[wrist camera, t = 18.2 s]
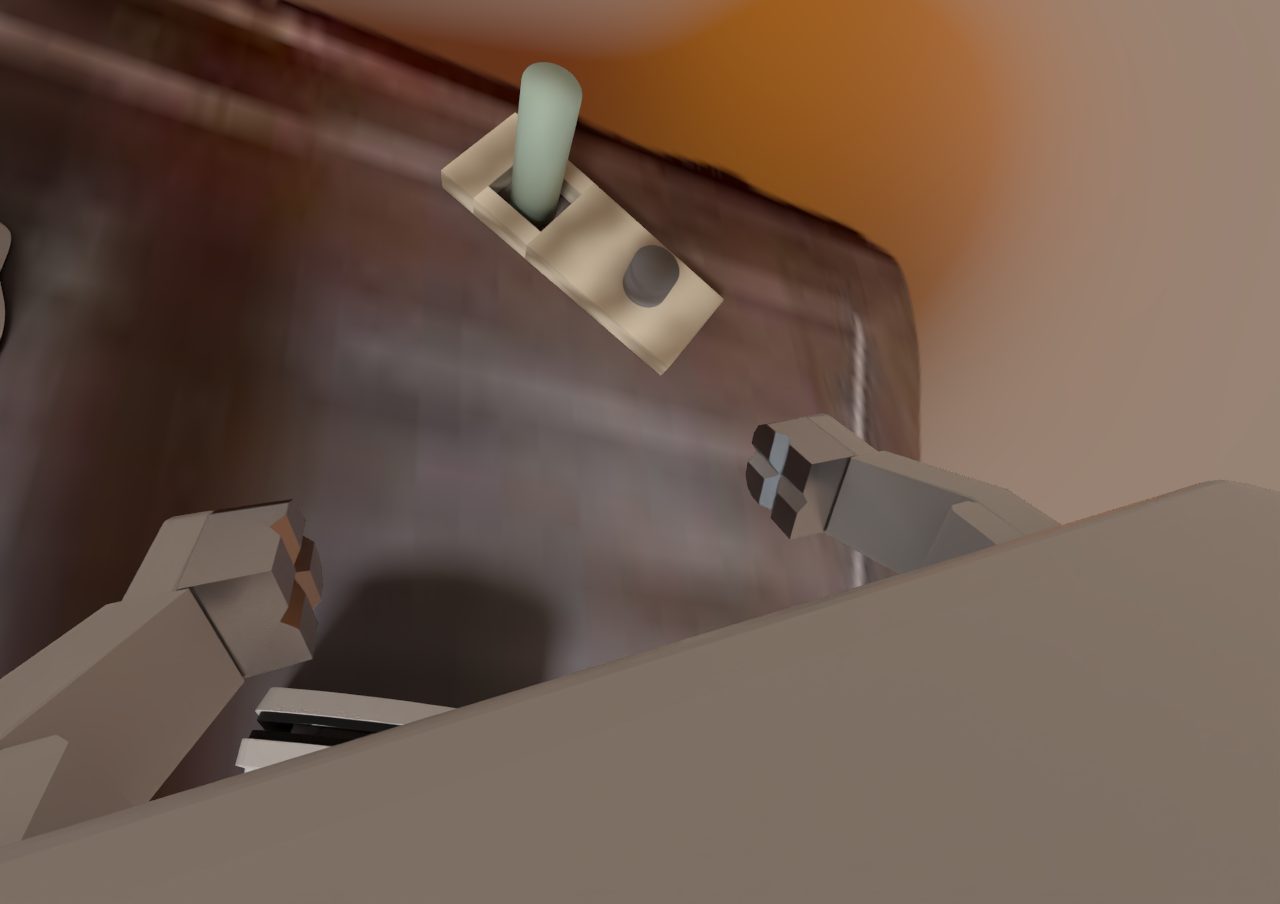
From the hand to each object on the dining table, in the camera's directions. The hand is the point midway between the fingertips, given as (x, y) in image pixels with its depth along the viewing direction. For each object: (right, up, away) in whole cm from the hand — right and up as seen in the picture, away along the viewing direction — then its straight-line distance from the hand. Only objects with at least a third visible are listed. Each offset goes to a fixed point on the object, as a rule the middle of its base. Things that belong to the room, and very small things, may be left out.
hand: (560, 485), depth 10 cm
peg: (-8, +22, +36) cm, 43 cm away
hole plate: (-3, +18, +37) cm, 41 cm away
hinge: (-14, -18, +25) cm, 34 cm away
